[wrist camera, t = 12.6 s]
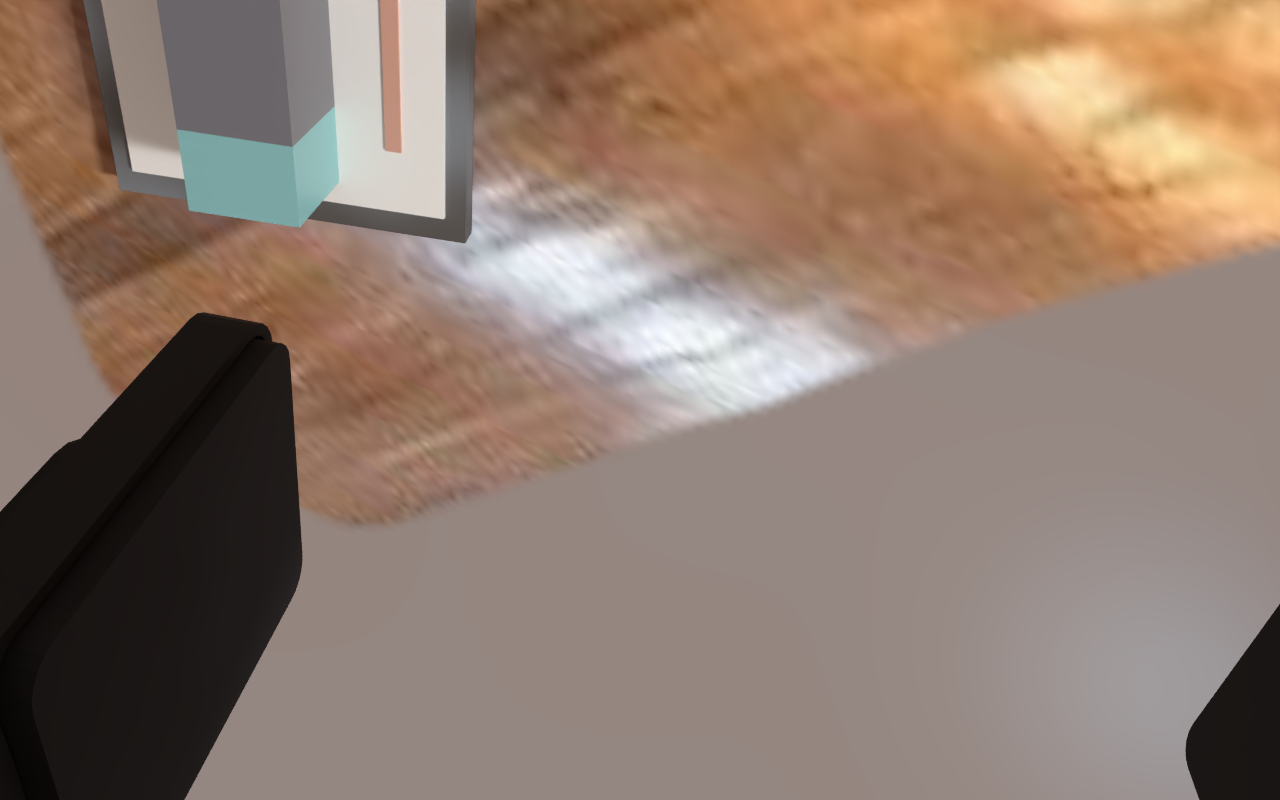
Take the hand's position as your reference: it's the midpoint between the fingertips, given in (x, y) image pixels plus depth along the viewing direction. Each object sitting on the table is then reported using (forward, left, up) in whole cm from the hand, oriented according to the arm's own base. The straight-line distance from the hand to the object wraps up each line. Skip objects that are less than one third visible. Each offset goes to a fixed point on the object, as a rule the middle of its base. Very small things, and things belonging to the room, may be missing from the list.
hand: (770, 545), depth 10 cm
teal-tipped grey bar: (+5, -17, -29) cm, 34 cm away
